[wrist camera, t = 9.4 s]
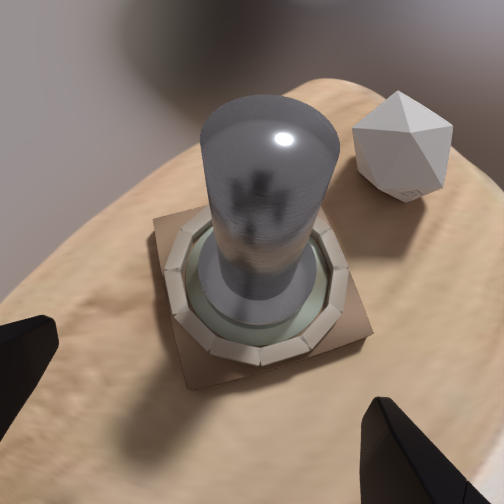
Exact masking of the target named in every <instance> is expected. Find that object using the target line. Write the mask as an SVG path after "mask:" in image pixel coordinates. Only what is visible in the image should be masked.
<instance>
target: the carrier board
mask: <svg viewBox="0 0 504 504" xmlns="http://www.w3.org/2000/svg"><path fill="white" fill-rule="evenodd" d="M153 224H154V230H155V237H156V243H157V249H158V255H159V261H160V267H161V272H162V278H163V283H164V288H165V294H166V299H167V304H168V308H169V313H170V318H171V323H172V327H173V332H174V336H175V341H176V345H177V349H178V353H179V357H180V362H181V366H182V370H183V374H184V377H185V381H186V385H187V389H188V390H196V389H200V388H204V387H209V386H213V385H217V384H221V383H225V382H229V381H233V380H237V379H240V378H244V377H248V376H251V375H255V374H259V373H262V372H266V371H269V370H272V369H276V368H279V367H282V366H286V365H289V364H292V363H295V362H298V361H301V360H304V359H307V358H310V357H313V356H316V355H319V354H322V353H325V352H328V351H331V350H334V349H336V348H339V347H342V346H345V345H347V344H350V343H353V342H355V341H358V340H361V339H363V338H366V337H368V336H370V335H372V334H374V333H373V330H372V327H371V325H370V322H369V319H368V317H367V314H366V311H365V309H364V306H363V304H362V301H361V298H360V296H359V293H358V291H357V288H356V286H355V283H354V281H353V278H352V276H351V274H350V271H349V269H348V267H349V266H348V264H347V261H346V259H345V257H344V254H343V252H342V250H341V247H340V245H339V243H338V240H337V238H336V236H335V234H334V231H333V229H331V227H330V225H329V222H328V220H327V218H326V216H325V214H324V211H323V209H322V207H320V210H319V213H318V215H317V218H316V220H315V223H314V226H313V228H312V231H311V234H310V236H309V239H308V241H309V243H310V245H311V247H312V249H313V251H314V254H315V258H316V265H317V273H316V280H315V284H314V287H313V289H312V292H311V293H310V295H309V297H308V298H307V300H306V302H305V303H304V305H303V306H302V308H301V309H300V310H299V311H298V313H296V314H295V315H294V316H293V317H292V318H291V319H289V320H288V321H286V322H284V323H283V324H281V325H278V326H275V327H272V328H268V329H259V330H255V329H246V328H242V327H238V326H235V325H233V324H231V323H229V322H227V321H226V320H224V319H223V318H222V317H220V316H219V315H218V314H217V313H216V312H215V311H214V310H213V309H212V307H211V306H210V304H209V303H208V301H207V299H206V297H205V295H204V292H203V289H202V286H201V283H200V280H199V275H198V260H199V255H200V251H201V249H202V246H203V244H204V242H205V241H206V239H207V237H208V236H209V235H210V234H211V232H212V231H214V230H213V224H212V218H211V211H210V205H207V206H203V207H199V208H195V209H190V210H186V211H182V212H178V213H175V214H171V215H167V216H163V217H159V218H155V219H153Z"/></svg>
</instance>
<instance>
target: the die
mask: <svg viewBox="0 0 504 504" xmlns="http://www.w3.org/2000/svg"><path fill="white" fill-rule="evenodd" d="M452 131H453V125H451V124H450V123H449V122H447V121H446V120H444V119H443V118H441V117H440V116H438V115H437V114H435V113H434V112H432V111H431V110H429V109H428V108H426V107H424V106H423V105H421V104H420V103H418V102H416V101H415V100H413V99H411V98H410V97H408V96H406V95H404V94H403V93H401V92H399V91H397V92H395V93H394V94H393V95H392V96H390V97H389V98H388V99H387V100H385V101H384V102H383V103H382V104H380V105H379V106H378V107H377V108H376V109H374V110H373V111H372V112H371V113H369V114H368V115H367V116H366V117H365V118H363V119H362V120H361V121H360V122H358V123H357V124H356V125H355V126H354V127H352V132H353V139H354V146H355V153H356V161H357V169H358V171H359V172H360V173H361V174H362V175H363V176H364V177H365V178H367V179H368V180H369V181H370V182H371V183H372V184H373V185H374V186H376V187H377V188H378V189H379V190H381V191H383V192H385V193H387V194H389V195H391V196H393V197H395V198H397V199H399V200H401V201H403V202H405V203H407V202H410V201H412V200H415V199H417V198H420V197H422V196H424V195H427V194H429V193H432V192H434V191H437V190H439V189H441V188H443V185H444V180H445V175H446V170H447V164H448V158H449V152H450V145H451V138H452Z"/></svg>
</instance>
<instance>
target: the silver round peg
mask: <svg viewBox="0 0 504 504" xmlns="http://www.w3.org/2000/svg"><path fill="white" fill-rule="evenodd" d="M200 145H201V152H202V159H203V166H204V173H205V179H206V186H207V192H208V199H209V205H210V211H211V218H212V224H213V230H214V231H212V232H211V234H210V235H209V236H208V237H207V239H206V241H205V242H204V244H203V246H202V249H201V251H200V255H199V260H198V275H199V280H200V283H201V286H202V289H203V292H204V295H205V297H206V299H207V301H208V303H209V304H210V306H211V307H212V309H213V310H214V311H215V312H216V313H217V314H218V315H219V316H220V317H222V318H223V319H224V320H226V321H227V322H229V323H231V324H233V325H235V326H238V327H242V328H246V329H255V330H259V329H268V328H272V327H275V326H278V325H281V324H283V323H284V322H286V321H288V320H289V319H291V318H292V317H293V316H294V315H295V314H296V313H298V311H299V310H300V309H301V308H302V306H303V305H304V303H305V302H306V300H307V298H308V297H309V295H310V293H311V292H312V289H313V287H314V284H315V280H316V273H317V265H316V258H315V254H314V251H313V249H312V247H311V245H310V243H309V241H308V239H309V236H310V234H311V231H312V228H313V226H314V223H315V220H316V218H317V215H318V213H319V210H320V207H321V204H322V202H323V199H324V196H325V194H326V191H327V188H328V185H329V183H330V180H331V177H332V174H333V172H334V169H335V166H336V163H337V160H338V158H339V153H340V143H339V138H338V135H337V132H336V131H335V129H334V127H333V125H332V124H331V123H330V121H329V120H328V119H327V118H326V117H325V116H324V115H322V114H321V113H320V112H319V111H317V110H316V109H314V108H313V107H311V106H309V105H307V104H305V103H303V102H301V101H298V100H295V99H292V98H288V97H284V96H278V95H252V96H246V97H242V98H238V99H235V100H233V101H230V102H228V103H226V104H224V105H223V106H221V107H219V108H218V109H217V110H216V111H214V112H213V113H212V114H211V115H210V116H209V117H208V119H207V120H206V122H205V123H204V125H203V128H202V130H201V135H200Z"/></svg>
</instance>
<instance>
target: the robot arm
mask: <svg viewBox="0 0 504 504" xmlns="http://www.w3.org/2000/svg"><path fill="white" fill-rule="evenodd" d="M58 346H59V339H58V334H57V328H56V323H55V321H54V319H53V318H50V317H48V316H46V315H39V316H35V317H31V318H28V319H24V320H20V321H16V322H12V323H9V324H5V325H1V326H0V442H1V440H2V438H3V437H4V435H5V433H6V432H7V430H8V429H9V427H10V425H11V424H12V422H13V421H14V419H15V418H16V416H17V415H18V413H19V411H20V410H21V408H22V407H23V405H24V404H25V402H26V401H27V399H28V398H29V397H30V395H31V394H32V392H33V391H34V389H35V388H36V386H37V384H38V383H39V381H40V379H41V377H42V375H43V374H44V372H45V370H46V368H47V366H48V365H49V363H50V361H51V359H52V358H53V356H54V354H55V352H56V351H57V349H58ZM360 492H361V504H491V503H490V502H489V501H488V500H487V499H486V498H485V497H484V496H483V495H482V494H481V493H480V492H479V491H478V490H477V489H476V488H475V487H474V486H473V485H472V484H471V483H470V482H469V481H467V479H466V478H465V477H464V476H463V475H462V474H461V472H460V471H459V470H458V469H457V468H456V467H455V466H454V465H453V464H452V463H451V462H450V461H449V460H448V459H447V458H446V457H445V455H444V454H443V453H442V452H441V451H440V450H439V449H438V448H437V447H436V446H435V445H434V444H433V443H432V442H431V441H430V440H429V438H428V437H427V436H426V435H425V434H424V433H423V432H422V431H421V430H420V429H419V428H418V427H417V426H416V425H415V424H414V423H413V422H412V420H411V419H410V418H409V417H408V416H407V415H406V414H405V413H404V412H403V411H402V410H401V409H400V408H399V407H398V406H397V405H396V403H395V402H394V401H393V400H392V399H391V398H388V397H375V398H374V399H373V400H372V402H371V404H370V406H369V407H368V409H367V411H366V413H365V414H364V416H363V419H362V423H361V449H360Z"/></svg>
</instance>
